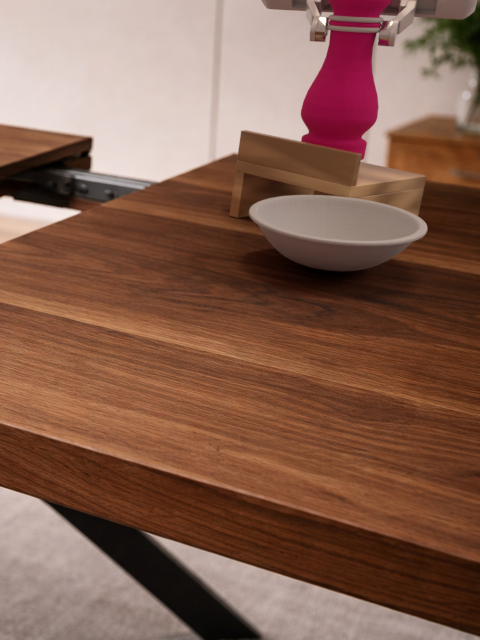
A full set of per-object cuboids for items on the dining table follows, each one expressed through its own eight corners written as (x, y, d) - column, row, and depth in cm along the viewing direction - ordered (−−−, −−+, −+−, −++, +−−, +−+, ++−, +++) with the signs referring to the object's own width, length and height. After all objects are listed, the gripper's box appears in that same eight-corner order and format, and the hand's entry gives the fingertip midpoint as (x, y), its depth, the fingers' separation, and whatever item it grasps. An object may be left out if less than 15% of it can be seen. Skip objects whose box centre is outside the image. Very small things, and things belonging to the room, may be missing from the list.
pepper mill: (319, 163, 93) (358, -59, 85) (280, 149, 99) (313, -59, 92) (384, 162, 94) (427, -56, 87) (341, 149, 101) (378, -55, 94)
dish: (405, 316, 73) (418, 254, 71) (219, 283, 79) (227, 225, 78) (423, 261, 88) (434, 208, 86) (265, 237, 94) (272, 187, 92)
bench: (303, 204, 108) (316, 124, 105) (414, 234, 97) (433, 145, 94) (229, 215, 102) (240, 130, 99) (339, 248, 91) (356, 154, 88)
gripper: (275, -93, 98) (241, 10, 94) (497, -91, 90) (471, 22, 85) (277, -45, 104) (245, 54, 99) (486, -39, 95) (461, 70, 91)
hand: (351, 39), depth 92 cm, fingers closed on pepper mill, 5 cm apart
